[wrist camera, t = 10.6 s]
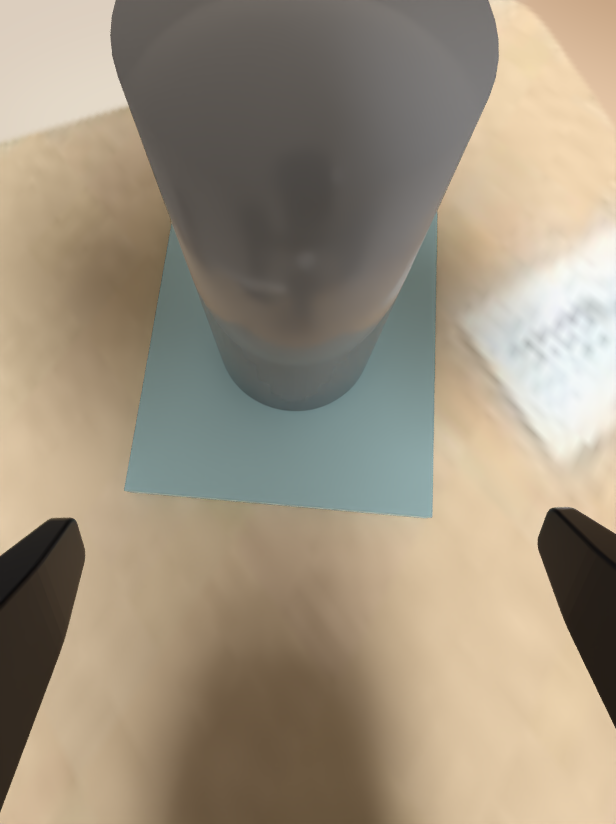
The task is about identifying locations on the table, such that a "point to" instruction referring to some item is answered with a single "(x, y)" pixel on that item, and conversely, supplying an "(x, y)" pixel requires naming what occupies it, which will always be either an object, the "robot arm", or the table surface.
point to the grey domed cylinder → (302, 163)
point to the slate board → (289, 414)
